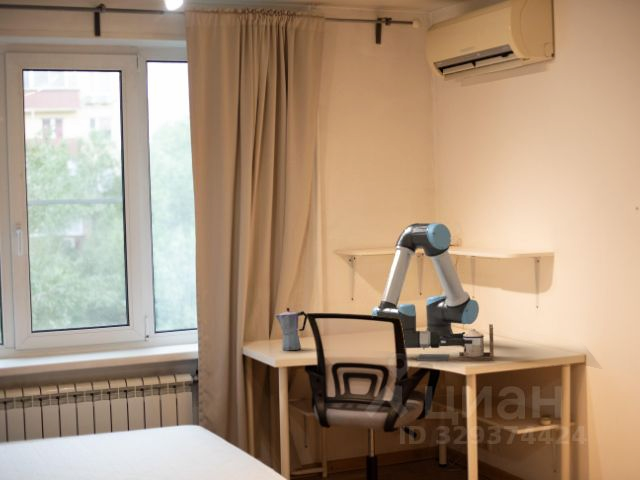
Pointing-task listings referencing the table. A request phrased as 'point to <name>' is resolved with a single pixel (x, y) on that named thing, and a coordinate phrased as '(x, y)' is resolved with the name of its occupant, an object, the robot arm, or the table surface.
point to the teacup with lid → (474, 349)
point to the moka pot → (290, 329)
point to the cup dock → (484, 352)
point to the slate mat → (433, 357)
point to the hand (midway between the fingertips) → (480, 339)
